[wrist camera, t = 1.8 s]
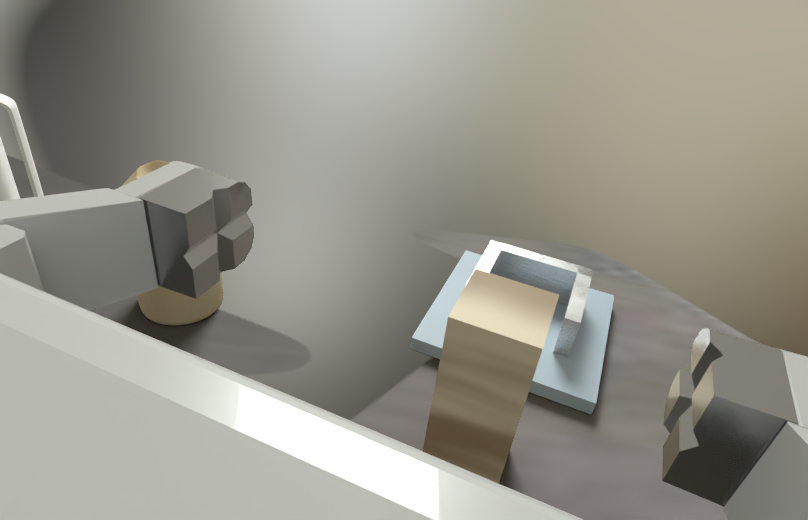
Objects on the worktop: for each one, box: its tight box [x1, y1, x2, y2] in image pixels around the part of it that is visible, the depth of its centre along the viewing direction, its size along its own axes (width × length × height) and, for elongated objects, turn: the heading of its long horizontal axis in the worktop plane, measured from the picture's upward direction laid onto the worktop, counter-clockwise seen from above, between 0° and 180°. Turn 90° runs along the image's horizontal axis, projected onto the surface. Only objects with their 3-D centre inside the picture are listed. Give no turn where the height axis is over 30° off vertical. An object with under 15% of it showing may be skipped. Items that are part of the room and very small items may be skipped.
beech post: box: [423, 269, 559, 484], centre depth 28 cm, size 4×4×11 cm
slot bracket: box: [468, 240, 593, 358], centre depth 40 cm, size 8×7×3 cm
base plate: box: [410, 251, 614, 415], centre depth 40 cm, size 12×12×1 cm
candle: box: [121, 160, 223, 325], centre depth 36 cm, size 6×6×10 cm
